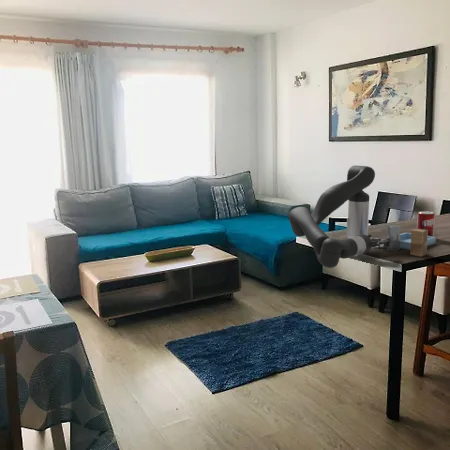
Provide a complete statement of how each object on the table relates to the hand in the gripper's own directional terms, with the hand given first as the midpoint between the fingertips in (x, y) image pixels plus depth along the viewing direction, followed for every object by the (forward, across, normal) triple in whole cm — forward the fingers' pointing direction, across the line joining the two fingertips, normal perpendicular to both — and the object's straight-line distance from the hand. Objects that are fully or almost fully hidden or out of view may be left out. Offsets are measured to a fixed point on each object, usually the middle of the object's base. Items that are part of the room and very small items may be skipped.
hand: (380, 238), depth 201 cm
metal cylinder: (+11, 0, -7) cm, 13 cm away
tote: (+25, 0, -6) cm, 26 cm away
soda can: (+42, -2, -7) cm, 42 cm away
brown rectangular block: (+11, +11, -7) cm, 17 cm away
